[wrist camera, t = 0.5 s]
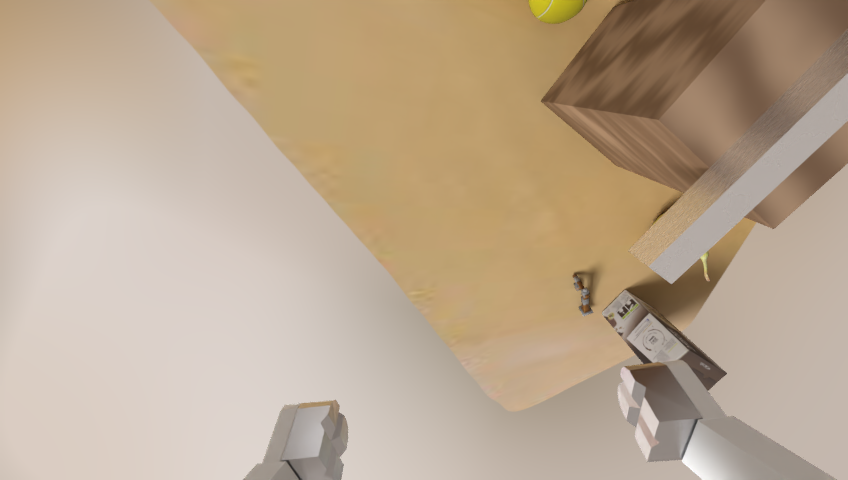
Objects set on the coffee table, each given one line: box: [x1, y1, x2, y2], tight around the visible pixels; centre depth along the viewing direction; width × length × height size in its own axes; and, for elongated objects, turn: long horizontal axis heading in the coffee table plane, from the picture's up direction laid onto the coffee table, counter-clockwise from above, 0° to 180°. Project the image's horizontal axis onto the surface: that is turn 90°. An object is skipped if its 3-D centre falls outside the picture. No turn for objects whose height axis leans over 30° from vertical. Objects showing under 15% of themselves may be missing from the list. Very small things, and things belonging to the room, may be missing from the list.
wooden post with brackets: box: [573, 274, 593, 316], centre depth 64 cm, size 2×8×4 cm, turn 24°
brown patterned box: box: [541, 0, 848, 229], centre depth 40 cm, size 14×17×26 cm
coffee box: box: [602, 290, 727, 391], centre depth 60 cm, size 9×6×16 cm
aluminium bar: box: [628, 29, 848, 284], centre depth 28 cm, size 22×3×3 cm, turn 144°
